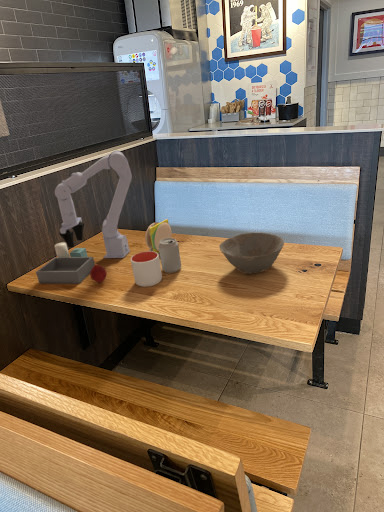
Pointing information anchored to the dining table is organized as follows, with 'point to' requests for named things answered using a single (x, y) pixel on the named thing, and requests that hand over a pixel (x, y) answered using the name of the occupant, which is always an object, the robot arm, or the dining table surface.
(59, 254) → the cylinder
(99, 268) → the onion
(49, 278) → the tote
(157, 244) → the hamburger
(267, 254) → the ceramic bowl
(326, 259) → the dining table surface
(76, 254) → the cube
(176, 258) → the can
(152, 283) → the cup
